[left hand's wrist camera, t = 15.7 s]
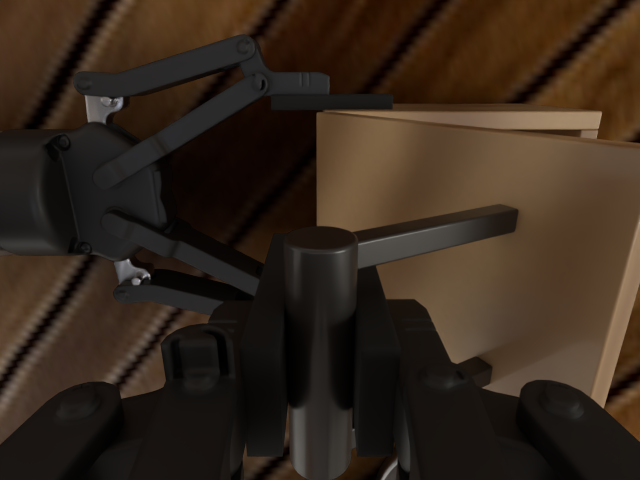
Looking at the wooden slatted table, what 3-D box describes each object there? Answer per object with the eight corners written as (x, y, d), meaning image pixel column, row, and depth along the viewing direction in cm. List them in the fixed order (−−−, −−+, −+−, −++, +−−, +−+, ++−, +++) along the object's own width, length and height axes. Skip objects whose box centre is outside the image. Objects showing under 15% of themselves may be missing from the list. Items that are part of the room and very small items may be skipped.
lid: (679, 147, 9) (388, 188, 5) (582, 485, 12) (362, 648, 9) (332, 111, 21) (168, 117, 17) (330, 289, 24) (193, 325, 21)
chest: (522, 103, 30) (603, 111, 21) (501, 235, 33) (564, 287, 25) (322, 103, 30) (323, 111, 21) (322, 235, 33) (323, 287, 25)
